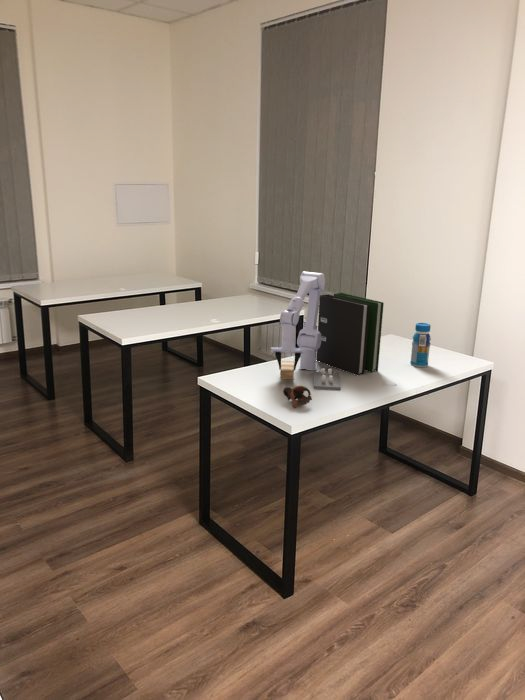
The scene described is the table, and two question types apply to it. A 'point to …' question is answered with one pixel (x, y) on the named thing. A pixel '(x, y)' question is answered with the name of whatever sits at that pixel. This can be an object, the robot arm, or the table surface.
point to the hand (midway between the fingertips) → (287, 369)
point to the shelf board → (287, 370)
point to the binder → (350, 332)
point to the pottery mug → (297, 395)
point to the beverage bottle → (421, 345)
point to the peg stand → (326, 380)
